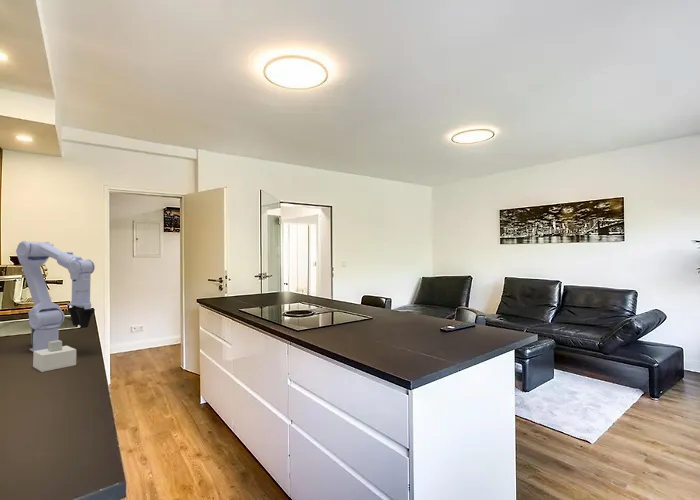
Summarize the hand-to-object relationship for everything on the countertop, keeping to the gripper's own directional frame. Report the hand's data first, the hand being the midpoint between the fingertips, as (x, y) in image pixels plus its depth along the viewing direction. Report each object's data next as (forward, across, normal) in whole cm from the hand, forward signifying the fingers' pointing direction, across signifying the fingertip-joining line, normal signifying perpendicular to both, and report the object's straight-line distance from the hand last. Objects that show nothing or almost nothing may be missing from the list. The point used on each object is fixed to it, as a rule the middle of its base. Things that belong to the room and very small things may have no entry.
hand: (80, 326), depth 137 cm
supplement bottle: (+11, -30, -4) cm, 32 cm away
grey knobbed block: (+10, +12, -11) cm, 19 cm away
